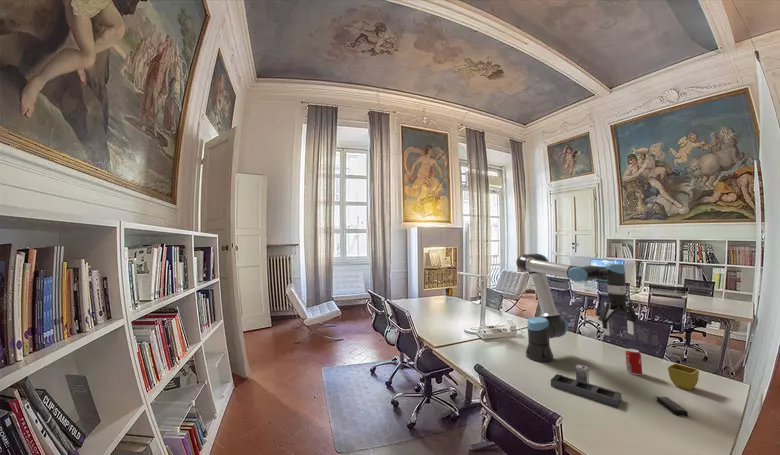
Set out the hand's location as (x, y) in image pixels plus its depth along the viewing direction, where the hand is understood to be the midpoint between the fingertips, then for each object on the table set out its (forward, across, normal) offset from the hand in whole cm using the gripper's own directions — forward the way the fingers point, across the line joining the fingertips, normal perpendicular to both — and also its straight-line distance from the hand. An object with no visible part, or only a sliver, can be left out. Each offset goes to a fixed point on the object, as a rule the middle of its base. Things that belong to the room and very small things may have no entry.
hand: (618, 334), depth 146 cm
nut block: (+23, -23, -2) cm, 32 cm away
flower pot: (+22, +22, -11) cm, 34 cm away
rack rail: (+22, -29, -10) cm, 38 cm away
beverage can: (+23, +13, +5) cm, 26 cm away
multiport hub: (+23, -3, -26) cm, 35 cm away
